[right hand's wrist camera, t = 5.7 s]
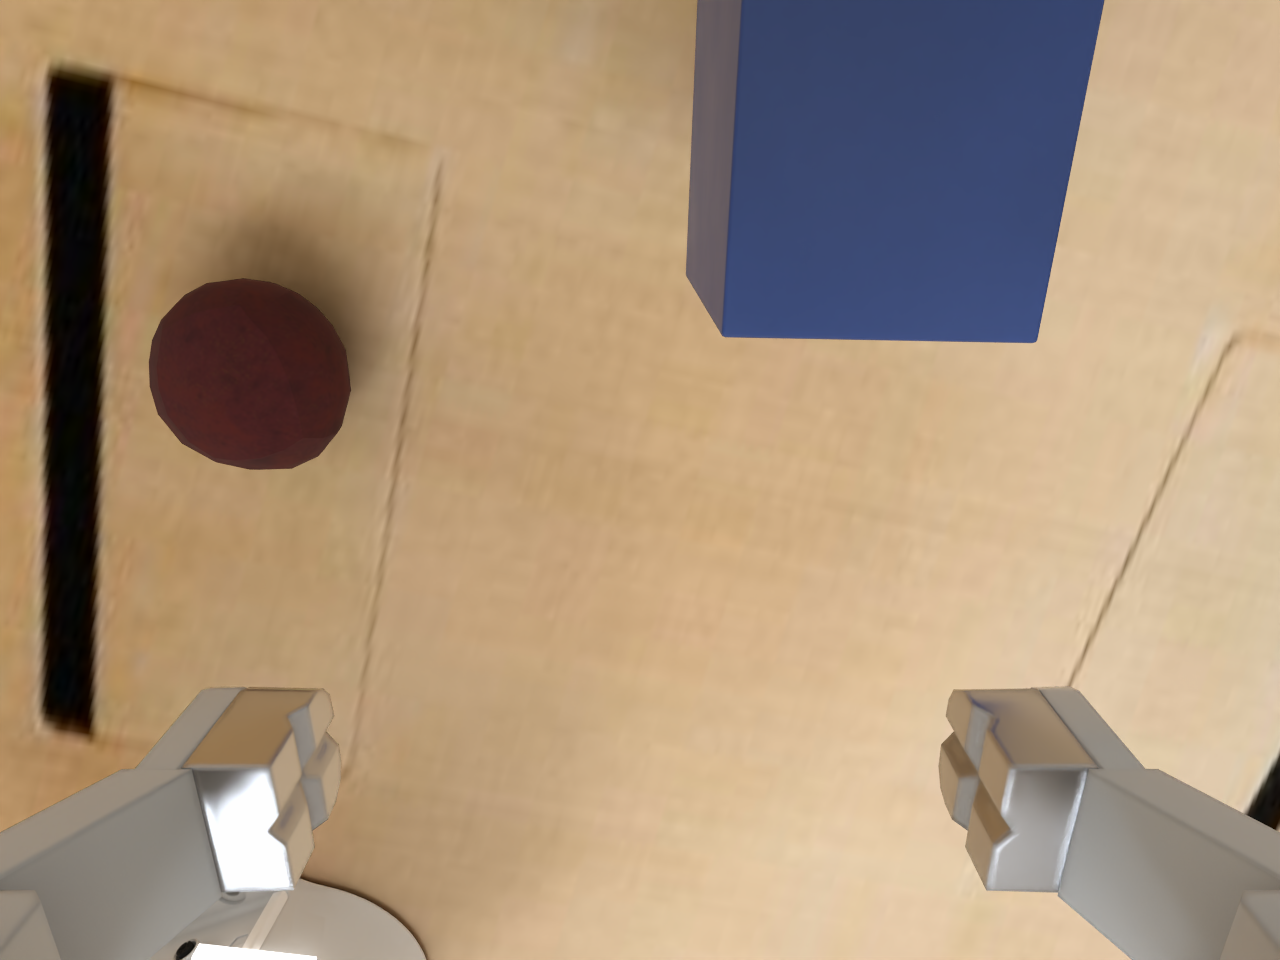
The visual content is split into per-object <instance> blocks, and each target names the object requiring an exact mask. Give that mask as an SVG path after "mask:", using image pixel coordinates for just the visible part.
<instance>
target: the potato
mask: <svg viewBox="0 0 1280 960" xmlns="http://www.w3.org/2000/svg"><path fill="white" fill-rule="evenodd" d="M149 376H150V389H151V392H152V395H153V399H154V402H155V406H156V409H157V412H158V415H159V416H160V417H161V418H162V420H163V421H164V422H165V423H166V425H167V426H168V427H169V428H170V429H171V431H172V432H173V433H174V434H175V436H176V437H177V438H178V439H179V440H180V442H181V443H182V444H184V445H186V446H188V447H189V448H191V449H193V450H195V451H197V452H199V453H200V454H202V455H204V456H206V457H208V458H209V459H211V460H213V461H215V462H218V463H222V464H227V465H232V466H236V467H241V468H246V469H259V470H260V469H290V468H294V467H296V466H298V465H300V464H302V463H305V462H307V461H309V460H311V459H313V458H315V457H318V456H319V455H320V453H321V452H322V451H323V450H324V449H325V448H326V446H327V445H328V444H329V442H330V441H331V440H332V439H333V438H334V436H335V435H336V434H337V433H338V431H339V429H340V428H341V426H342V423H343V419H344V415H345V411H346V407H347V403H348V400H349V396H350V392H351V387H350V379H349V371H348V364H347V356H346V350H345V348H344V346H343V344H342V342H341V340H340V339H339V337H338V335H337V333H336V331H335V329H334V327H333V326H332V324H331V323H330V322H329V321H328V320H327V319H326V318H325V316H324V315H323V314H322V313H321V312H320V311H319V310H318V308H317V307H315V306H314V305H313V304H311V303H310V302H309V301H307V300H306V299H305V298H303V297H302V296H301V295H299V294H298V293H296V292H294V291H291V290H289V289H287V288H284V287H282V286H280V285H277V284H275V283H271V282H265V281H258V280H251V279H244V278H243V279H236V280H228V281H221V282H213V283H206V284H204V285H203V286H201V287H199V288H197V289H195V290H193V291H191V292H189V293H188V294H186V295H184V296H183V297H182V298H181V299H180V300H179V301H178V302H177V303H176V305H175V306H174V307H173V308H172V309H171V310H170V311H169V312H168V313H167V314H166V315H165V316H164V318H163V319H162V320H161V322H160V324H159V326H158V328H157V331H156V333H155V335H154V337H153V339H152V345H151V352H150V359H149Z"/></svg>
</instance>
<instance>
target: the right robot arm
mask: <svg viewBox="0 0 1280 960" xmlns="http://www.w3.org/2000/svg"><path fill="white" fill-rule="evenodd" d="M333 717H334V713H333V708H332V703H331V698H330V694H329V693H327V692H326V691H325V690H324V689H317V688H271V687H249V688H246V687H210V688H207V689H204V690H201V691H200V693H199V694H198V695H197V696H196V697H195V698H194V700H193V701H192V702H191V703H190V704H189V705H188V707H187V708H186V709H185V710H184V711H183V712H182V714H181V715H180V716H179V717H178V718H177V720H176V721H175V722H174V723H173V724H172V725H171V727H170V728H169V729H168V730H167V731H166V733H165V734H164V735H163V736H162V737H161V738H160V740H159V741H158V742H157V743H156V744H155V746H154V747H153V748H152V749H151V750H150V751H149V753H148V754H147V755H146V756H145V757H144V759H143V760H142V761H141V762H140V763H139V764H138V766H137V767H136V768H135V769H121V770H119V771H118V772H116V773H114V774H112V775H110V776H108V777H106V778H104V779H102V780H100V781H98V782H96V783H94V784H93V785H91V786H89V787H87V788H85V789H83V790H81V791H79V792H77V793H75V794H73V795H71V796H69V797H67V798H66V799H64V800H62V801H60V802H58V803H56V804H54V805H52V806H50V807H48V808H46V809H44V810H42V811H41V812H39V813H37V814H35V815H33V816H31V817H29V818H27V819H25V820H23V821H21V822H19V823H17V824H15V825H14V826H12V827H10V828H8V829H6V830H4V831H2V832H0V960H426V957H425V955H424V952H423V951H422V949H421V947H420V945H419V943H418V942H417V940H416V939H415V938H414V936H413V935H412V934H411V933H410V931H409V930H408V929H407V928H406V927H405V926H404V925H403V924H402V923H401V922H400V921H398V920H397V919H396V918H395V917H394V916H392V915H391V914H390V913H388V912H387V911H385V910H384V909H382V908H381V907H379V906H377V905H375V904H374V903H372V902H370V901H368V900H366V899H364V898H361V897H359V896H357V895H354V894H351V893H349V892H346V891H342V890H339V889H335V888H331V887H327V886H323V885H319V884H315V883H312V882H309V881H306V880H303V879H301V878H300V876H301V874H302V872H303V870H304V868H305V866H306V864H307V862H308V860H309V858H310V856H311V854H312V852H313V849H314V847H315V845H314V839H313V833H312V830H314V829H315V828H317V827H318V826H319V825H321V824H322V823H323V822H325V821H326V820H328V818H329V816H330V814H331V811H332V809H333V807H334V805H335V803H336V799H337V794H338V790H339V785H340V780H341V756H340V750H339V744H338V743H337V742H336V741H335V740H334V739H333V738H332V737H331V736H330V735H329V734H328V733H327V732H326V730H327V728H328V726H329V725H330V723H331V721H332V719H333ZM946 717H947V719H948V721H949V723H950V725H951V726H952V728H953V730H954V732H953V733H952V734H951V735H950V736H949V737H948V738H947V739H946V740H945V741H944V742H943V743H942V744H941V751H940V759H939V776H940V788H941V791H942V795H943V799H944V802H945V805H946V807H947V809H948V812H949V814H950V816H951V818H952V820H954V821H955V822H957V823H958V824H959V825H961V826H962V827H963V828H965V829H966V830H968V834H967V839H966V845H965V847H966V849H967V852H968V854H969V856H970V858H971V860H972V862H973V864H974V866H975V868H976V870H977V872H978V874H979V876H980V878H981V880H982V882H983V884H984V886H985V888H986V890H991V891H1026V892H1058V896H1059V897H1060V898H1061V899H1062V900H1063V901H1064V902H1065V903H1067V904H1068V905H1069V906H1070V907H1071V908H1072V909H1074V910H1075V911H1076V912H1077V913H1078V914H1079V915H1081V916H1082V917H1083V918H1084V919H1085V920H1086V921H1088V922H1089V923H1090V924H1091V925H1092V926H1093V927H1095V928H1096V929H1097V930H1098V931H1099V932H1100V933H1102V934H1103V935H1104V936H1105V937H1106V938H1107V939H1109V940H1110V941H1111V942H1112V943H1113V944H1114V945H1116V946H1117V947H1118V948H1119V949H1120V950H1121V951H1122V952H1124V953H1125V954H1126V955H1127V956H1128V957H1129V958H1131V959H1132V960H1280V832H1278V831H1276V830H1274V829H1272V828H1270V827H1268V826H1266V825H1264V824H1262V823H1260V822H1258V821H1257V820H1255V819H1253V818H1251V817H1249V816H1247V815H1245V814H1243V813H1241V812H1239V811H1237V810H1235V809H1234V808H1232V807H1230V806H1228V805H1226V804H1224V803H1222V802H1220V801H1218V800H1216V799H1214V798H1212V797H1210V796H1209V795H1207V794H1205V793H1203V792H1201V791H1199V790H1197V789H1195V788H1193V787H1191V786H1189V785H1187V784H1186V783H1184V782H1182V781H1180V780H1178V779H1176V778H1174V777H1172V776H1170V775H1168V774H1166V773H1164V772H1162V771H1161V770H1159V769H1145V768H1144V767H1143V766H1142V764H1141V763H1140V762H1139V761H1138V760H1137V759H1136V757H1135V756H1134V755H1133V754H1132V753H1131V751H1130V750H1129V749H1128V748H1127V747H1126V746H1125V744H1124V743H1123V742H1122V741H1121V740H1120V739H1119V737H1118V736H1117V735H1116V734H1115V733H1114V731H1113V730H1112V729H1111V728H1110V727H1109V726H1108V724H1107V723H1106V722H1105V721H1104V720H1103V718H1102V717H1101V716H1100V715H1099V714H1098V713H1097V711H1096V710H1095V709H1094V708H1093V707H1092V706H1091V704H1090V703H1089V702H1088V701H1087V700H1086V698H1085V697H1084V696H1083V695H1082V694H1081V693H1080V691H1078V690H1076V689H1074V688H1072V687H1070V686H1066V687H1035V688H1030V689H958V690H953V692H952V694H951V696H950V698H949V701H948V707H947V712H946Z"/></svg>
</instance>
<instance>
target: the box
mask: <svg viewBox="0 0 1280 960" xmlns="http://www.w3.org/2000/svg"><path fill="white" fill-rule="evenodd" d="M1103 5H1104V0H698V2H697V25H696V49H695V72H694V96H693V120H692V143H691V167H690V190H689V214H688V238H687V261H686V276H687V278H688V279H689V281H690V283H691V284H692V286H693V288H694V289H695V291H696V293H697V294H698V296H699V298H700V299H701V301H702V303H703V304H704V306H705V308H706V309H707V311H708V313H709V314H710V316H711V318H712V319H713V321H714V323H715V324H716V326H717V328H718V329H719V331H720V333H721V334H722V336H724V337H741V338H793V339H845V340H898V341H950V342H1003V343H1034V342H1036V341H1037V338H1038V333H1039V328H1040V323H1041V318H1042V313H1043V308H1044V302H1045V297H1046V292H1047V287H1048V282H1049V277H1050V272H1051V267H1052V262H1053V257H1054V252H1055V247H1056V242H1057V237H1058V232H1059V227H1060V222H1061V217H1062V212H1063V207H1064V202H1065V196H1066V191H1067V186H1068V181H1069V176H1070V171H1071V166H1072V161H1073V156H1074V151H1075V146H1076V141H1077V136H1078V131H1079V126H1080V121H1081V116H1082V111H1083V106H1084V101H1085V95H1086V90H1087V85H1088V80H1089V75H1090V70H1091V65H1092V60H1093V55H1094V50H1095V45H1096V40H1097V35H1098V30H1099V25H1100V20H1101V15H1102V10H1103Z"/></svg>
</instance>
